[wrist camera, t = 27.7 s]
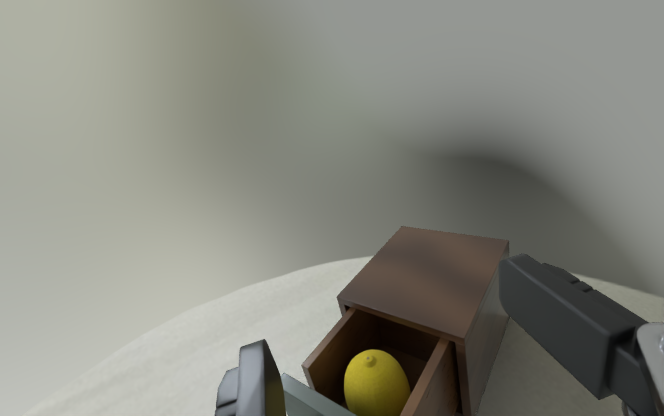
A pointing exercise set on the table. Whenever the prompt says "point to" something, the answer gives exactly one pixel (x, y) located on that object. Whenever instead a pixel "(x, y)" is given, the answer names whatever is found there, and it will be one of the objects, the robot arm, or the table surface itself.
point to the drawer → (381, 334)
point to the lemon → (375, 385)
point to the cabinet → (440, 297)
